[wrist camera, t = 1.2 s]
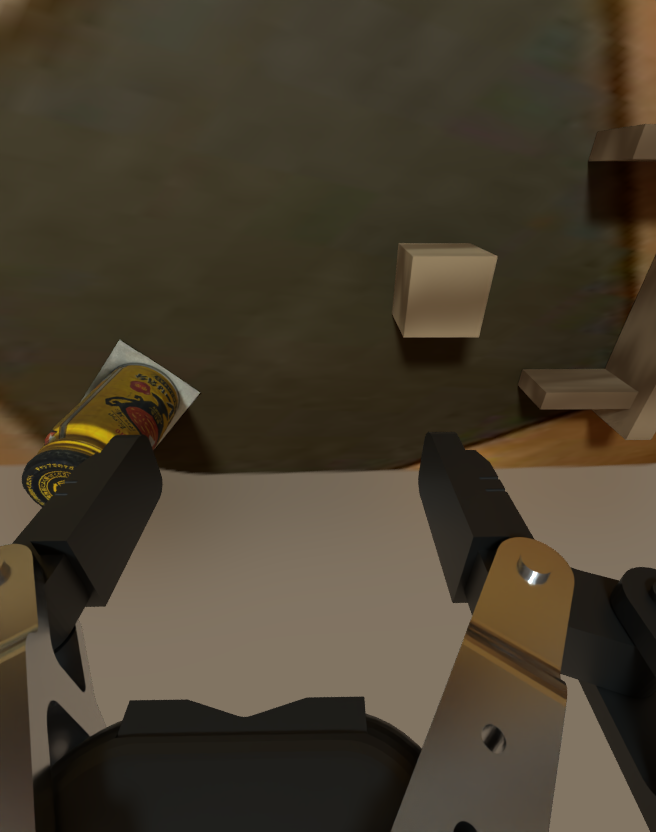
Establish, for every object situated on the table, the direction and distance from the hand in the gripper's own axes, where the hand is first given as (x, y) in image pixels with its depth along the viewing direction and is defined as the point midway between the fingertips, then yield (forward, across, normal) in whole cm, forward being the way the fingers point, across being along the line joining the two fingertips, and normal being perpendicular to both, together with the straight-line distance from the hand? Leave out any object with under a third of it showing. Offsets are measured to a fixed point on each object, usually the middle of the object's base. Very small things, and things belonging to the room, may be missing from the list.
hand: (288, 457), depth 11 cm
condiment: (+20, +15, +10) cm, 27 cm away
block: (+20, -9, 0) cm, 22 cm away
